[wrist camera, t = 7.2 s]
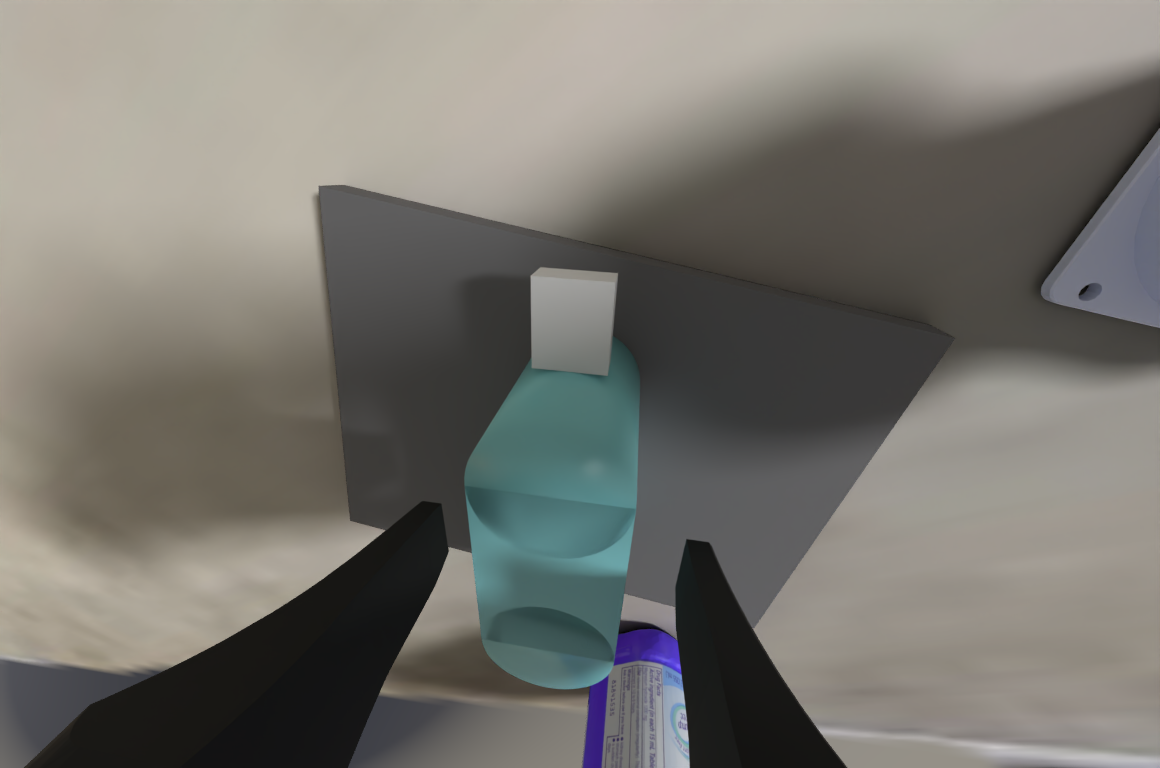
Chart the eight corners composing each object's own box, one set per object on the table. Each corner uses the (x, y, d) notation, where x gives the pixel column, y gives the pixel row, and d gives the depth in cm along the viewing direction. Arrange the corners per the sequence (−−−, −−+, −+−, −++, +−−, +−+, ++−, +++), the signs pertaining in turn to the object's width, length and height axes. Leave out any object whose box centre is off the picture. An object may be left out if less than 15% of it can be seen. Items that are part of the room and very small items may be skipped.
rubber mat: (930, 325, 13) (955, 338, 12) (748, 604, 20) (754, 627, 19) (343, 185, 14) (318, 186, 13) (365, 503, 21) (350, 520, 20)
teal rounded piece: (656, 257, 12) (663, 320, 7) (619, 545, 18) (609, 698, 13) (527, 248, 13) (443, 301, 8) (531, 533, 19) (485, 675, 13)
